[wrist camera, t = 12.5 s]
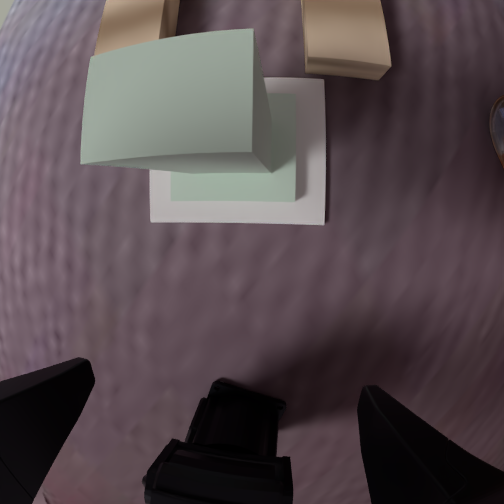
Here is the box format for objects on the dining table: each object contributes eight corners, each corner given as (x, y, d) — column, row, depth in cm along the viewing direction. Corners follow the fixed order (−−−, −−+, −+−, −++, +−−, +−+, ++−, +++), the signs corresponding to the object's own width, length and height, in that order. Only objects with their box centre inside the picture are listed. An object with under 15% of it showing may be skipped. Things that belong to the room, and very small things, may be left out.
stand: (378, 80, 17) (391, 66, 14) (110, 91, 19) (90, 81, 16) (361, -23, 15) (369, -42, 12) (127, -7, 17) (112, -23, 14)
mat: (323, 224, 20) (324, 225, 19) (152, 221, 21) (150, 222, 21) (323, 81, 18) (324, 79, 17) (155, 88, 19) (153, 87, 19)
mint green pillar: (294, 201, 19) (313, 225, 7) (175, 200, 20) (48, 224, 8) (295, 98, 18) (307, -15, 6) (177, 102, 19) (66, 27, 6)
